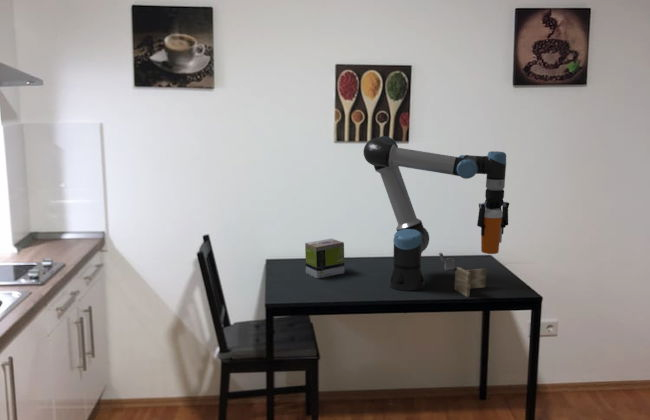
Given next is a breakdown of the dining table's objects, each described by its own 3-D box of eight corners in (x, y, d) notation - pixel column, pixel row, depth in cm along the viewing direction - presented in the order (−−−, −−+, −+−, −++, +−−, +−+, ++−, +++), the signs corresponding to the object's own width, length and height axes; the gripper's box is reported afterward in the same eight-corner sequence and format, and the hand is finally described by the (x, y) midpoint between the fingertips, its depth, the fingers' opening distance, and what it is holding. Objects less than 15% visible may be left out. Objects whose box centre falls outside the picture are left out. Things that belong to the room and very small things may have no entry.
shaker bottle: (497, 255, 268) (499, 208, 263) (476, 253, 272) (478, 206, 268) (503, 250, 275) (505, 204, 271) (482, 248, 279) (484, 202, 275)
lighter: (453, 268, 300) (453, 252, 299) (454, 269, 299) (454, 252, 297) (438, 268, 300) (438, 252, 298) (439, 269, 298) (439, 253, 297)
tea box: (332, 268, 300) (332, 237, 297) (344, 273, 292) (345, 242, 289) (304, 273, 292) (304, 241, 289) (316, 279, 284) (316, 246, 281)
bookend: (466, 296, 260) (468, 273, 258) (454, 289, 270) (455, 266, 268) (497, 293, 265) (498, 270, 263) (483, 286, 274) (485, 263, 272)
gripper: (480, 191, 262) (476, 246, 266) (520, 189, 268) (516, 242, 273) (470, 188, 268) (467, 242, 273) (509, 186, 275) (505, 238, 279)
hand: (491, 242), depth 273 cm, fingers open, 6 cm apart
